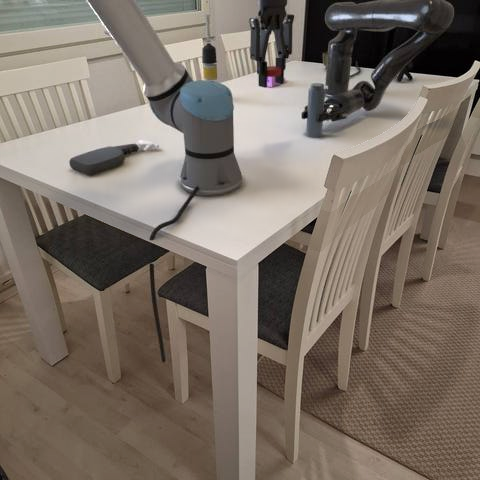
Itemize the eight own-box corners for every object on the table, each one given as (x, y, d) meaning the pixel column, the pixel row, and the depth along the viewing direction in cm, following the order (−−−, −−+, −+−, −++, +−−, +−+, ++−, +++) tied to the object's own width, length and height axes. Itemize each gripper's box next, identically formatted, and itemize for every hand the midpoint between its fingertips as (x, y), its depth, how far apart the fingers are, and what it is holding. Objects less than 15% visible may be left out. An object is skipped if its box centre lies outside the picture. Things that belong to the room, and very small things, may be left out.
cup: (319, 70, 220) (320, 53, 216) (324, 67, 226) (325, 50, 221) (333, 71, 217) (335, 54, 213) (338, 69, 222) (340, 51, 218)
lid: (283, 76, 120) (283, 69, 119) (263, 77, 120) (263, 70, 119) (278, 72, 125) (278, 65, 124) (259, 73, 124) (259, 66, 123)
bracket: (271, 87, 193) (272, 70, 189) (261, 85, 196) (261, 68, 192) (287, 81, 202) (288, 65, 198) (277, 79, 205) (277, 63, 201)
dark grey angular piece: (400, 92, 202) (376, 71, 205) (417, 76, 202) (392, 56, 205) (405, 81, 191) (380, 59, 194) (423, 64, 191) (397, 42, 194)
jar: (303, 133, 141) (306, 83, 133) (317, 131, 142) (321, 82, 134) (310, 138, 137) (313, 87, 129) (324, 136, 138) (328, 85, 130)
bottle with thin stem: (220, 99, 177) (217, 15, 161) (206, 100, 176) (202, 16, 160) (215, 96, 182) (212, 14, 166) (202, 97, 180) (197, 14, 164)
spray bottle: (67, 168, 120) (139, 144, 136) (91, 178, 114) (163, 151, 130) (65, 157, 118) (137, 134, 134) (89, 167, 112) (162, 142, 128)
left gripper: (253, -9, 104) (253, 92, 116) (309, -13, 113) (304, 81, 126) (234, -10, 109) (236, 87, 122) (289, -14, 118) (286, 77, 131)
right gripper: (323, 90, 148) (291, 101, 137) (361, 97, 139) (331, 109, 129) (321, 113, 152) (290, 125, 141) (358, 121, 143) (329, 134, 133)
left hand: (271, 84), depth 124 cm, fingers closed on lid, 5 cm apart
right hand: (310, 117), depth 135 cm, fingers closed on jar, 5 cm apart
